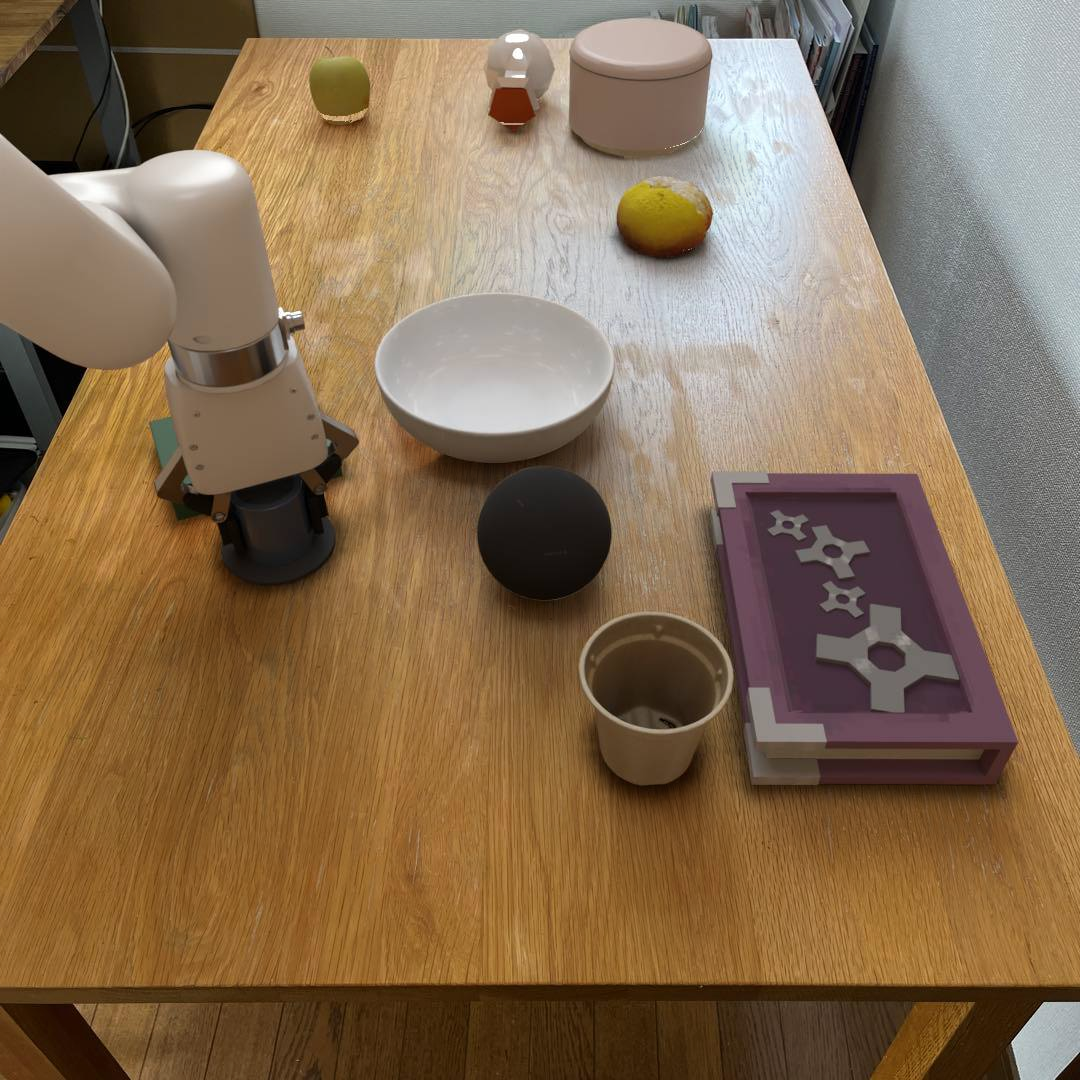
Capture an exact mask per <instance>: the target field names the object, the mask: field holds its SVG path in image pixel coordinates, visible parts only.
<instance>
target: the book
mask: <svg viewBox="0 0 1080 1080" xmlns="http://www.w3.org/2000/svg"><path fill="white" fill-rule="evenodd" d="M710 484H711V490H712V496H713V503H714V508H712V507H711V508H710V514H709V520H710V527H711V533H712V539H713V546H714V552H715V554H716V555H717V563H718V568H719V575H720V580H721V588H722V594H723V600H724V601H723V602H724V607H725V613H726V614H725V615H726V619H727V626H728V633H729V638H730V645H731V651H732V658H733V664H734V670H735V677H736V683H737V689H738V695H739V702H740V709H741V714H742V715H741V716H742V721H743V738H744V743H745V750H746V757H747V762H748V769H749V776H750V783H751V785H752V786H819V785H821V784H822V785H840V784H841V785H993V786H994V785H996V783H997V781H998V780H999V777H1000V776H1001V774H1002V772H1003V770H1004V769H1005V767H1006V765H1007V763H1008V762H1009V760H1010V758H1011V756H1012V754H1013V753H1014V752H1015V750H1016V748H1017V745H1018V744H1019V740H1018V738H1017V735H1016V732H1015V730H1014V727H1013V724H1012V721H1011V719H1010V716H1009V713H1008V711H1007V708H1006V706H1005V703H1004V701H1003V697H1002V694H1001V692H1000V689H999V686H998V684H997V681H996V679H995V676H994V674H993V672H992V668H991V666H990V663H989V661H988V658H987V655H986V652H985V650H984V646H983V644H982V642H981V639H980V637H979V634H978V631H977V629H976V626H975V623H974V621H973V618H972V615H971V612H970V610H969V607H968V605H967V602H966V599H965V597H964V594H963V591H962V588H961V586H960V584H959V580H958V578H957V576H956V573H955V570H954V568H953V565H952V563H951V559H950V557H949V554H948V551H947V550H946V549H947V548H946V546H945V544H944V541H943V538H942V536H941V532H940V531H939V528H938V525H937V523H936V519H935V517H934V515H933V512H932V509H931V507H930V504H929V501H928V498H927V496H926V493H925V491H924V488H923V485H922V483H921V481H920V477H919V475H918V473H838V472H837V473H828V472H827V473H817V472H815V473H812V472H810V473H808V472H806V473H805V472H802V473H795V472H793V473H792V472H788V473H786V472H785V473H783V472H782V473H781V472H779V473H778V472H777V473H775V472H769V473H768V472H767V470H766V471H764V470H763V471H761V470H759V471H757V470H756V471H755V470H754V471H753V470H752V471H751V470H749V471H745V470H744V471H741V470H727V471H726V470H719V471H718V470H712V471H711V478H710Z"/></svg>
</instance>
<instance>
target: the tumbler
mask: <svg viewBox="0 0 1080 1080" xmlns="http://www.w3.org/2000/svg"><path fill="white" fill-rule="evenodd" d="M230 504H231V508H232V510H233V512H234V515H235V518H236V521H237V524H238V528H239V531H240V535H241V538H242V542H243V545H244V549H245V552H246V555H247V557H248V558H249V559H251V560H252V561H253V562H255V563H258V564H260V565H265V566H280V565H285V564H289V563H292V562H294V561H296V560H298V559H300V558H301V557H303V556H304V555H305V554H306V553H307V552H308V551H309V550H310V548H311V547H312V544H313V542H314V532H313V527H312V523H311V518H310V514H309V509H308V505H307V500H306V496H305V491H304V486H303V482H302V478H301V477H300V475H299V474H298V473H297V474H293V475H290V476H287V477H283V478H279V479H276V480H272V481H268V482H265V483H261V484H257V485H254V486H250V487H246V488H242V489H238V490H234V491H232V493H231V499H230Z"/></svg>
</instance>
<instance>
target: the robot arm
mask: <svg viewBox="0 0 1080 1080" xmlns="http://www.w3.org/2000/svg"><path fill="white" fill-rule="evenodd" d="M260 216H261V215H260V211H259V206H258V202H257V197H256V193H255V188H254V185H253V182H252V179H251V177H250V175H249V173H248V172H247V170H246V169H245V167H244V166H243V165H241V164H240V162H239V161H238V160H236V159H235V158H233V157H232V156H229V155H228V154H224V153H223V152H222V153H221V152H219V151H214V150H208V149H184V150H178V151H173V152H172V151H171V152H167V153H164V154H161V155H158V156H155V157H153V158H150V159H148V160H146V161H144V162H143V163H141V164H139V165H137V166H132V167H124V168H117V169H105V170H95V171H83V172H68V173H57V174H50V175H49V174H46V173H45V172H44V171H43V170H42V169H41V168H40V167H38V165H36V164H35V163H33V162H32V160H30V159H29V158H28V157H27V156H26V155H24V154H23V153H22V152H21V151H20V149H18V148H17V147H16V146H15V145H13V144H12V143H11V142H10V141H9V140H8V139H7V138H6V137H5V136H4V135H3V134H1V133H0V324H2V325H4V326H6V327H7V328H9V329H11V330H12V331H14V332H16V333H17V334H19V335H21V336H22V337H24V338H25V339H27V340H28V341H30V342H32V343H34V344H35V345H37V346H38V347H41V348H42V349H44V350H45V351H47V352H49V353H51V354H52V355H55V357H58V358H60V359H61V360H63V361H66V362H68V363H71V364H74V365H77V366H80V367H83V368H87V369H92V370H100V371H118V370H123V369H128V368H132V367H135V366H138V365H141V364H143V363H145V362H147V361H148V360H149V359H151V358H153V357H154V356H155V355H156V354H157V353H158V352H160V351H161V350H162V348H164V346H165V345H166V344H167V345H168V348H169V352H170V354H171V355H170V356H169V357H168V358H167V359H166V361H165V363H164V366H163V369H164V370H163V375H164V376H163V377H164V385H165V394H166V400H167V405H168V410H169V414H170V417H171V418H172V422H173V426H174V430H175V434H176V438H177V442H178V445H179V446H178V447H177V449H176V450H175V452H174V453H173V455H172V456H171V458H170V459H169V461H168V462H167V464H166V465H165V467H164V468H163V470H162V469H161V472H160V473H159V474H158V476H157V477H156V479H155V480H154V482H153V485H154V489H155V494H156V497H157V498H159V499H161V500H164V501H167V502H169V503H171V502H173V503H176V504H179V503H180V504H183V505H185V507H186V508H188V509H190V510H193V511H196V512H198V513H201V514H202V515H204V516H207V517H209V518H210V519H211V521H212V522H213V523H215V524H216V525H217V528H218V531H219V535H220V539H221V541H223V545H224V546H225V545H229V544H232V543H233V546H234V549H235V552H236V555H237V558H240V557H244V554H246V552H245V549H244V545H243V542H242V538H241V535H240V531H239V528H238V524H237V521H236V518H235V515H234V512H233V510H232V508H231V504H230V499H231V493H232V491H234V490H238V489H242V488H246V487H250V486H254V485H257V484H261V483H265V482H268V481H272V480H276V479H279V478H283V477H287V476H290V475H293V474H297V473H298V474H299V475H300V477H301V478H302V482H303V486H304V491H305V496H306V500H307V505H308V509H309V514H310V518H311V523H312V527H313V530H314V532H315V534H318V535H319V534H323V533H324V528H323V523H322V519H321V518H323V517H329V515H330V514H329V511H328V510H329V509H328V505H327V502H326V501H327V500H326V496H325V493H326V492H327V491H328V489H329V487H328V484H329V482H330V481H331V480H332V479H331V478H332V477H333V476H334V475H335V473H336V472H337V471H338V470H339V469H340V467H341V468H342V466H343V461H344V460H346V459H347V458H348V457H349V456H350V455H351V454H352V453H353V451H354V450H356V448H357V447H358V446H359V444H360V440H359V437H358V436H357V434H356V432H355V430H354V429H353V428H351V427H349V426H347V425H346V424H344V423H342V422H341V421H338V420H337V419H334V418H333V417H331V416H329V415H328V414H325V413H324V412H322V411H321V410H320V411H321V412H320V411H319V409H320V408H319V409H318V407H319V404H318V402H317V398H316V395H315V392H314V388H313V385H312V382H311V379H310V377H309V374H308V371H307V369H306V366H305V361H304V359H303V356H302V353H301V351H300V349H299V347H298V345H297V343H296V341H295V339H294V338H293V336H292V335H294V334H296V332H299V331H304V330H306V324H305V320H304V317H303V314H302V311H301V310H300V309H299V310H294V311H290V310H285V311H284V309H283V307H279V302H278V297H277V292H276V287H275V283H274V278H273V273H272V269H271V263H270V259H269V254H268V248H267V245H266V241H265V235H264V231H263V226H262V220H261V217H260ZM317 404H318V405H317ZM326 439H328V440H330V441H332V442H331V443H330V446H327V441H326ZM187 475H189V478H190V480H191V482H192V483H188V484H185V483H184V482H183V481H184V479H185V478H186V476H187Z"/></svg>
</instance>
